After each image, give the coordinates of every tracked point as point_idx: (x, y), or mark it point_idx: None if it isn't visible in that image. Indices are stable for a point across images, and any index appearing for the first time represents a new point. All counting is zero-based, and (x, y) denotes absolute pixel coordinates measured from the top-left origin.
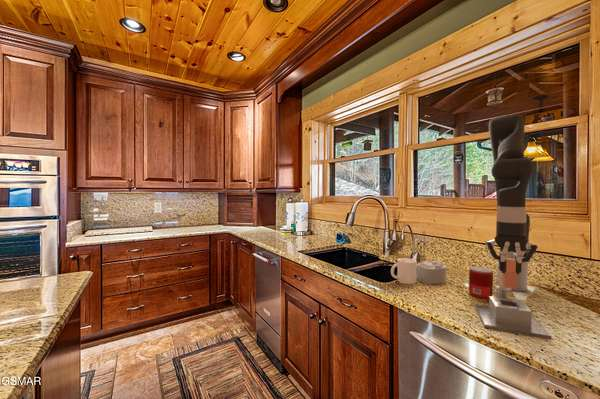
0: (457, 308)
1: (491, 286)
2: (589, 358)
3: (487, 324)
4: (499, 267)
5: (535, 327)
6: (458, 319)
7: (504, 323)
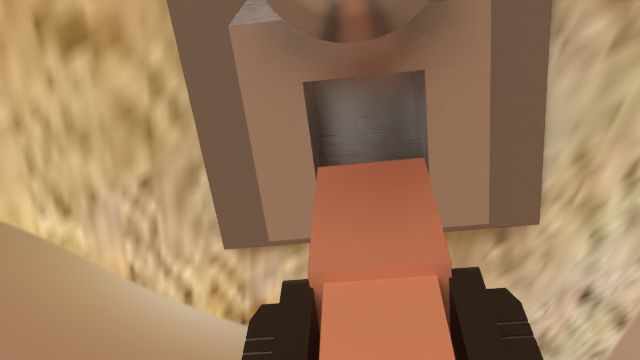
0: (45, 23)
1: None
2: (621, 314)
3: (237, 241)
4: (256, 343)
5: (493, 153)
6: (90, 203)
7: None
